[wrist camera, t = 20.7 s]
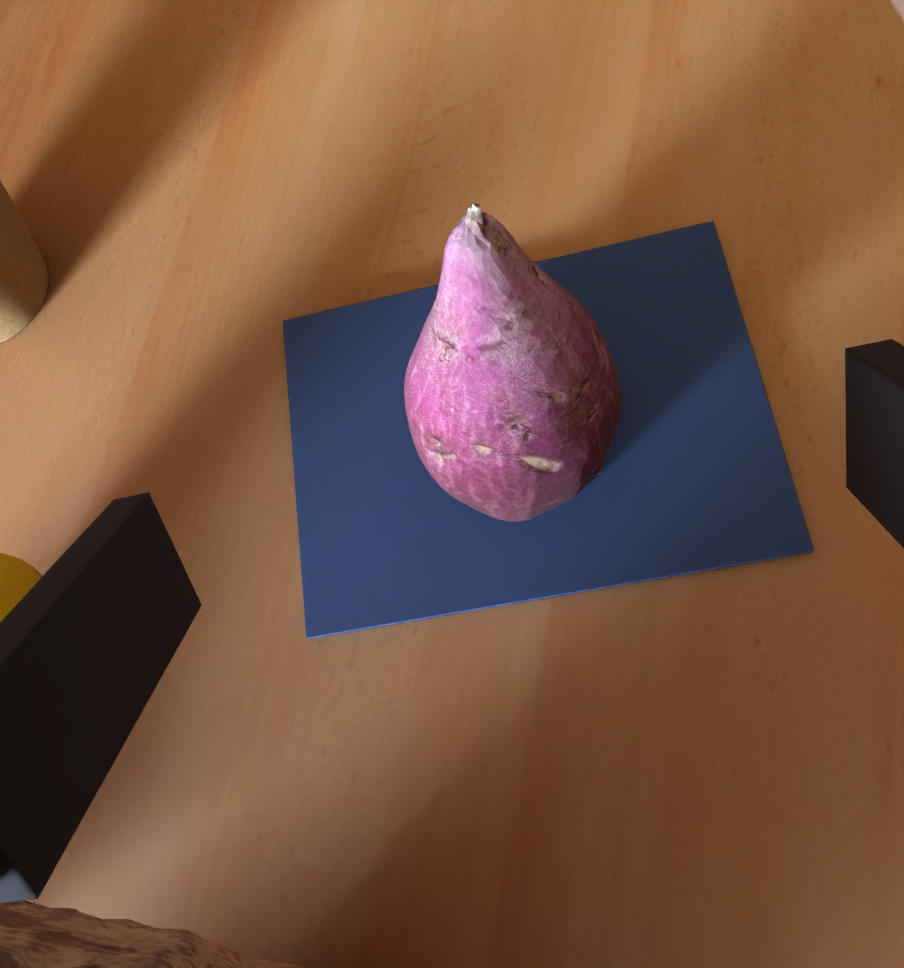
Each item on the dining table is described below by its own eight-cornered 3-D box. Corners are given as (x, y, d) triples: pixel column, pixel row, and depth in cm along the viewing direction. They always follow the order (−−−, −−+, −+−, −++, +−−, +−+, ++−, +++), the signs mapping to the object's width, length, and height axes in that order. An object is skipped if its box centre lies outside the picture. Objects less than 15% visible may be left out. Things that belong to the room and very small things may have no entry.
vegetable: (448, 369, 44) (346, 133, 32) (631, 359, 40) (596, 91, 28) (410, 529, 38) (271, 319, 26) (619, 533, 35) (567, 294, 23)
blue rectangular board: (712, 225, 40) (713, 220, 40) (812, 552, 34) (814, 550, 34) (285, 323, 43) (282, 320, 43) (308, 639, 37) (306, 638, 37)
